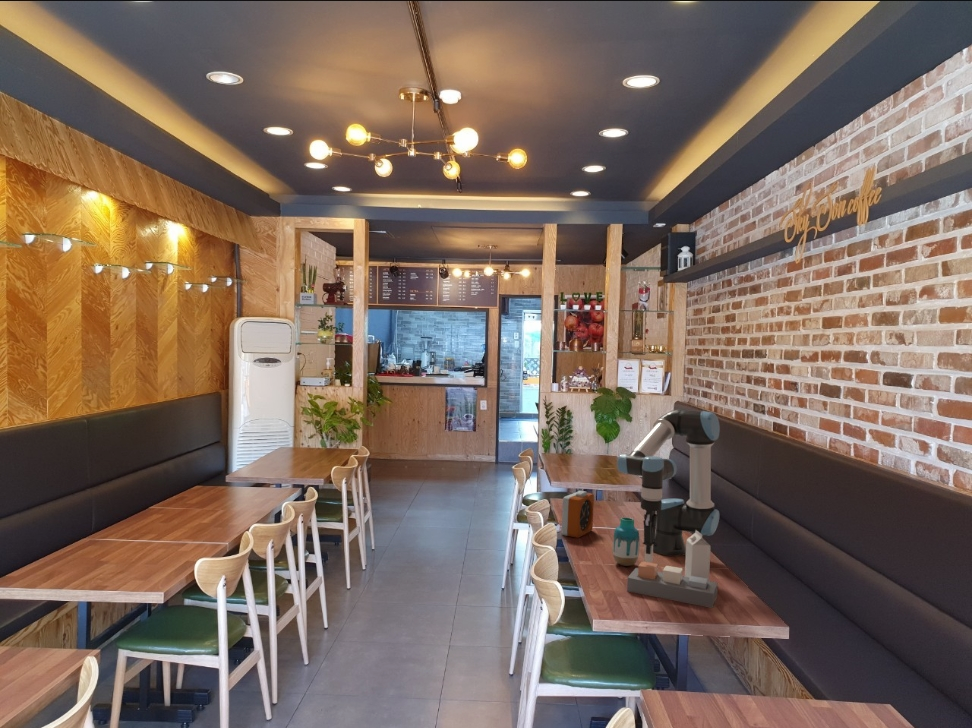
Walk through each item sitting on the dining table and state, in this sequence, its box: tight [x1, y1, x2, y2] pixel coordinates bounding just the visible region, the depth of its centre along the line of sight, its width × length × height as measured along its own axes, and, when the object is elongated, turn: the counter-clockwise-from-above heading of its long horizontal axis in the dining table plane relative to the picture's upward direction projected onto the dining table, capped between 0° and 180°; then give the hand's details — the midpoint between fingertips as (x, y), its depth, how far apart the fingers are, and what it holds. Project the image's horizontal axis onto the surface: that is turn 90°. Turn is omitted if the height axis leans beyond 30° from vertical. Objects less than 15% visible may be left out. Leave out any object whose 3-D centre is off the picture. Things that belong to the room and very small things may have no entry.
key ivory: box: [662, 565, 684, 584], centre depth 241 cm, size 6×6×6 cm
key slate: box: [688, 576, 708, 589], centre depth 237 cm, size 6×6×6 cm
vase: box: [612, 516, 640, 567], centre depth 272 cm, size 11×11×19 cm
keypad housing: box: [626, 567, 718, 609], centre depth 241 cm, size 13×30×5 cm, turn 64°
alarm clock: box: [561, 490, 595, 539], centre depth 317 cm, size 18×9×21 cm, turn 148°
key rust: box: [637, 561, 659, 580], centre depth 245 cm, size 6×6×6 cm
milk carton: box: [684, 530, 711, 581], centre depth 256 cm, size 7×7×19 cm
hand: (648, 561), depth 244 cm, fingers closed
